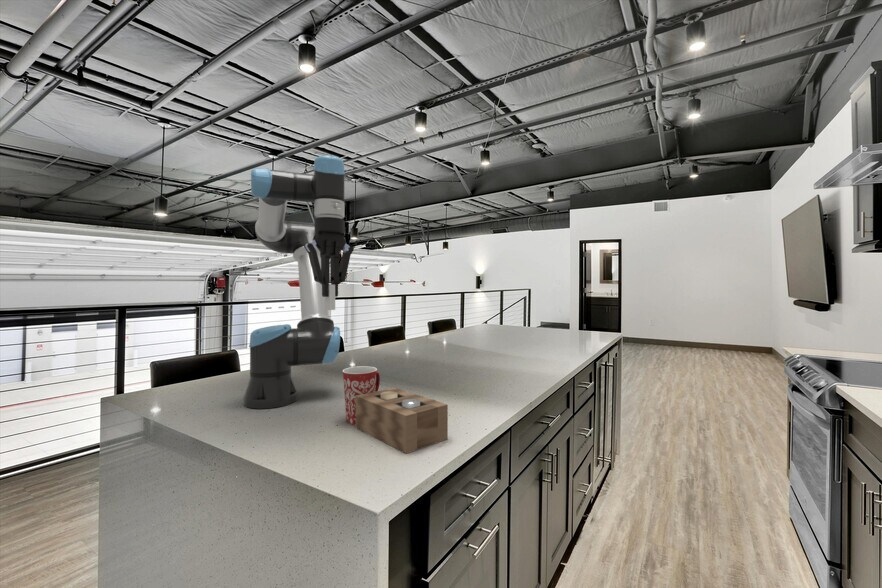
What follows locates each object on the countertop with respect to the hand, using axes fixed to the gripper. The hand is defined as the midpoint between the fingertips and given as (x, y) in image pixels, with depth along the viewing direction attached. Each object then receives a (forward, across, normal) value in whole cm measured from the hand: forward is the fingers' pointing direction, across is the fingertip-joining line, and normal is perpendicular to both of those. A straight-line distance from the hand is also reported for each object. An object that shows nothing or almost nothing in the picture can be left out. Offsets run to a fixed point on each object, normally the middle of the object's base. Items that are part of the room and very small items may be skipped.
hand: (330, 309), depth 101 cm
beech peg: (+29, +9, -14) cm, 33 cm away
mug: (+30, +8, -3) cm, 31 cm away
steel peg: (+29, +9, -22) cm, 38 cm away
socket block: (+29, +9, -18) cm, 36 cm away
